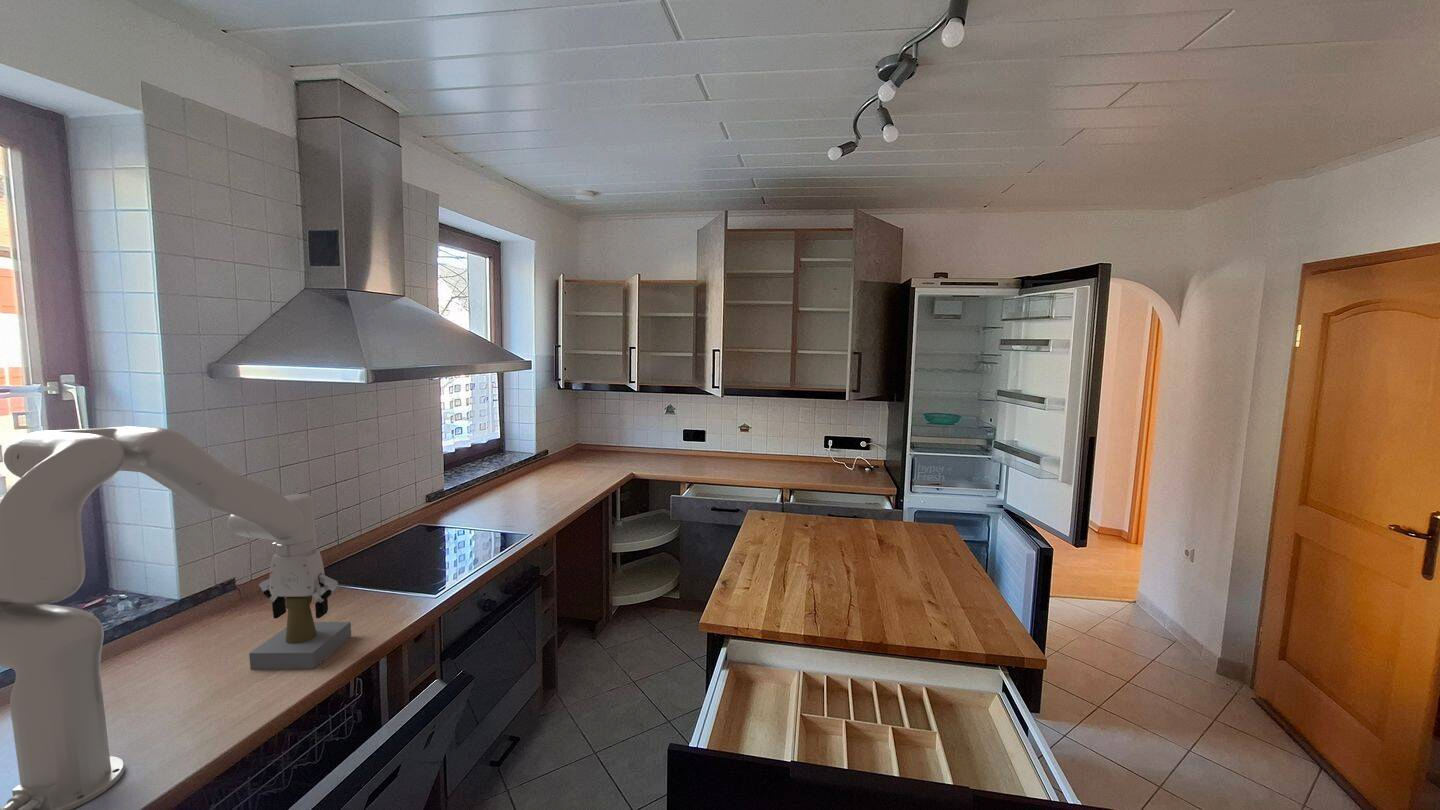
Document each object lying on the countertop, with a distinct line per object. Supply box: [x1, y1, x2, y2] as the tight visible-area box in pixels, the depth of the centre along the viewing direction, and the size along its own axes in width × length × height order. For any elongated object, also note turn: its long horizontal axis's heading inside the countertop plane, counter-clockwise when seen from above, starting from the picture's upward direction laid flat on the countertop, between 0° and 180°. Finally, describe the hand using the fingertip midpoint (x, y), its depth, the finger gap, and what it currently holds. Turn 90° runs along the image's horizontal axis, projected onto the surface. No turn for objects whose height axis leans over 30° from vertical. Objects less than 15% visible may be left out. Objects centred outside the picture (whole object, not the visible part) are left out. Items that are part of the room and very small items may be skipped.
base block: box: [248, 621, 352, 671], centre depth 133 cm, size 14×14×4 cm
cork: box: [285, 596, 317, 644], centre depth 132 cm, size 6×6×11 cm
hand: (300, 615), depth 132 cm, fingers open, 9 cm apart
